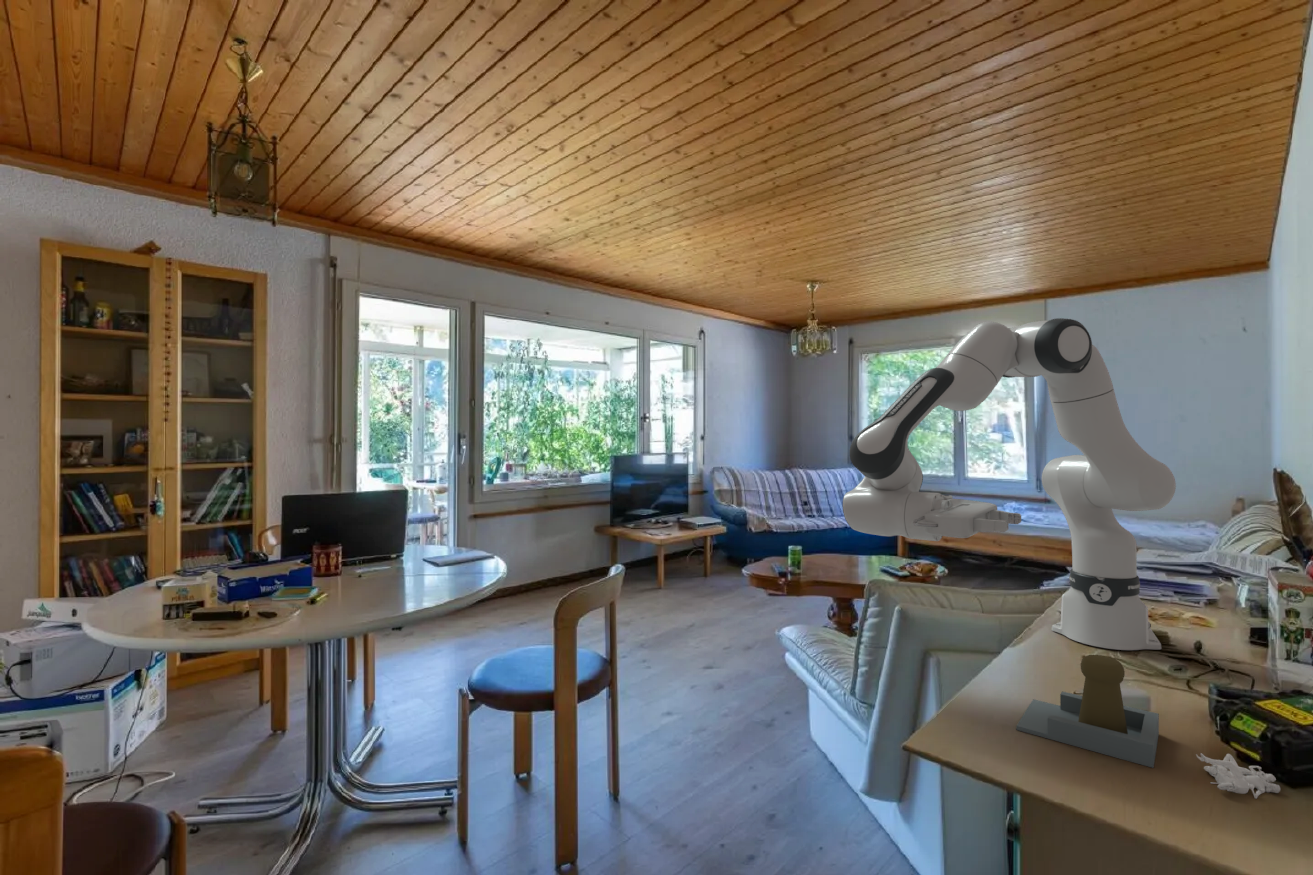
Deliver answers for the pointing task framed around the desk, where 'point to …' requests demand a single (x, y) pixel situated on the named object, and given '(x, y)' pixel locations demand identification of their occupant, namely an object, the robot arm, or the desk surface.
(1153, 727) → the tray
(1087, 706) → the cork
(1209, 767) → the figurine
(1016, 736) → the desk surface
